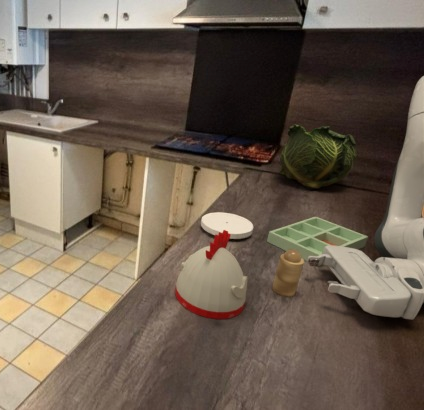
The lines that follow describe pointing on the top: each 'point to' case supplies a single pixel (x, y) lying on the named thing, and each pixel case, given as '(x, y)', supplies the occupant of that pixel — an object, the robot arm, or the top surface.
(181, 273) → the kitchen timer
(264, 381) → the top surface
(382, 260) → the robot arm
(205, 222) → the plastic lid
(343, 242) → the grid
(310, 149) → the cabbage
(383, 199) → the top surface
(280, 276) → the beige toy figure
